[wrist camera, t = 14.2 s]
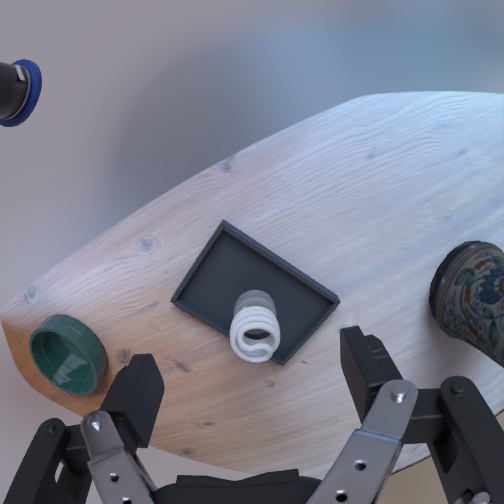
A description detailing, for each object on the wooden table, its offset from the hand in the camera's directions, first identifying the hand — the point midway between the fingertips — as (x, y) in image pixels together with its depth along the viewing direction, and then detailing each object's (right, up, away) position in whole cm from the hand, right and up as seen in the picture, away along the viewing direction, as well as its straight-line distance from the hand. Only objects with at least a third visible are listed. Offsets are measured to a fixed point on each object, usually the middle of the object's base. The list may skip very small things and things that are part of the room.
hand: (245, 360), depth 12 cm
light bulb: (+1, -2, +31) cm, 31 cm away
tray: (+1, -2, +31) cm, 31 cm away
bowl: (-32, -13, +35) cm, 49 cm away
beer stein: (+36, 0, +30) cm, 47 cm away
